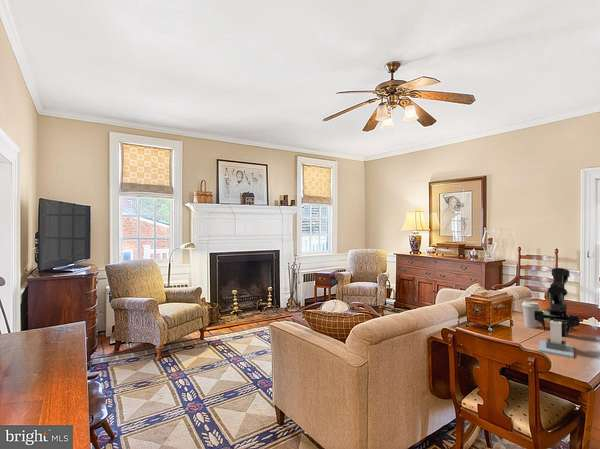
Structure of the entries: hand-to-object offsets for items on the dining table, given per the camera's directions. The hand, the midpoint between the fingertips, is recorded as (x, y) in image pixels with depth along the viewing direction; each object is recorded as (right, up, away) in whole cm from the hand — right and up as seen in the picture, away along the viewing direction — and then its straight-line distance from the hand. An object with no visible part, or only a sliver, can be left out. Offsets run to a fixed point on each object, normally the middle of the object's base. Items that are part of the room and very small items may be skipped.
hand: (555, 332), depth 176 cm
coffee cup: (+14, -9, +40) cm, 44 cm away
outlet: (+1, -9, +1) cm, 9 cm away
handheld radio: (+31, -9, +41) cm, 53 cm away
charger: (+1, -8, +1) cm, 8 cm away
